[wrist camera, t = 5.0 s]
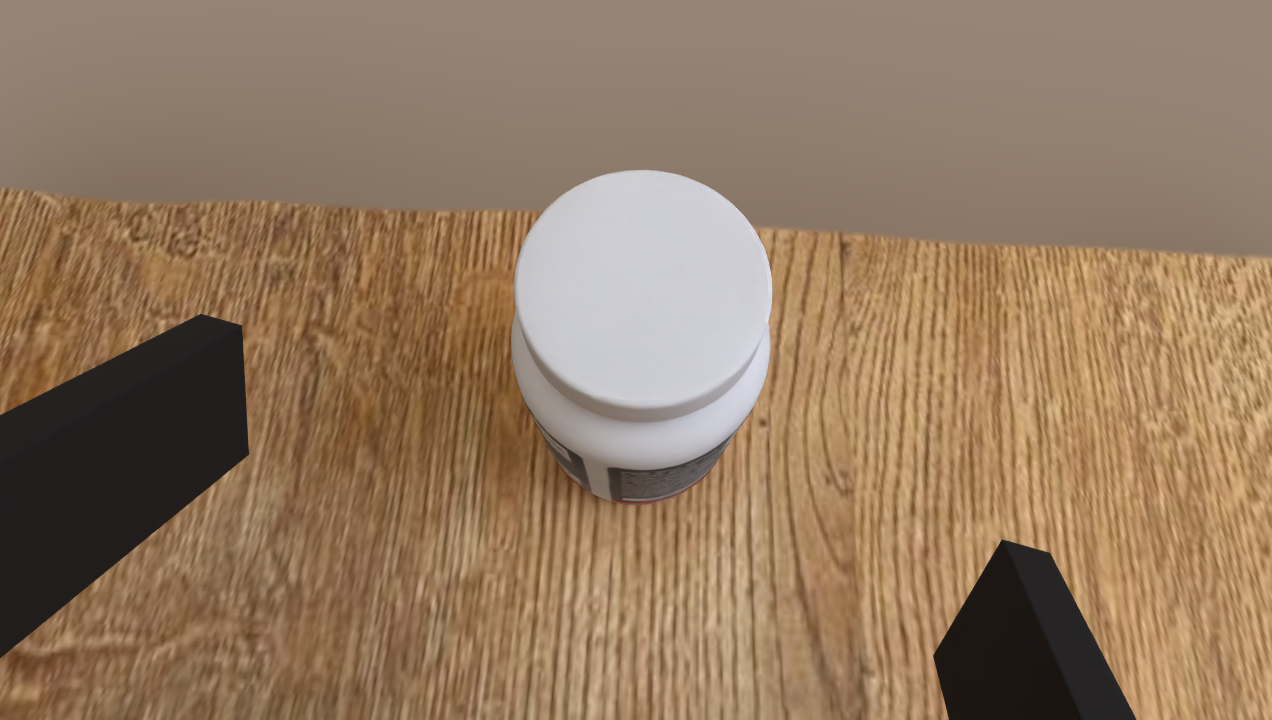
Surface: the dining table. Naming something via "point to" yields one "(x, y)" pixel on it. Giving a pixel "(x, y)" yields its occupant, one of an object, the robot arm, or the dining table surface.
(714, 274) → the pill bottle
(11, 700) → the dining table surface
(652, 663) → the dining table surface
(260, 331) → the dining table surface
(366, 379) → the dining table surface
